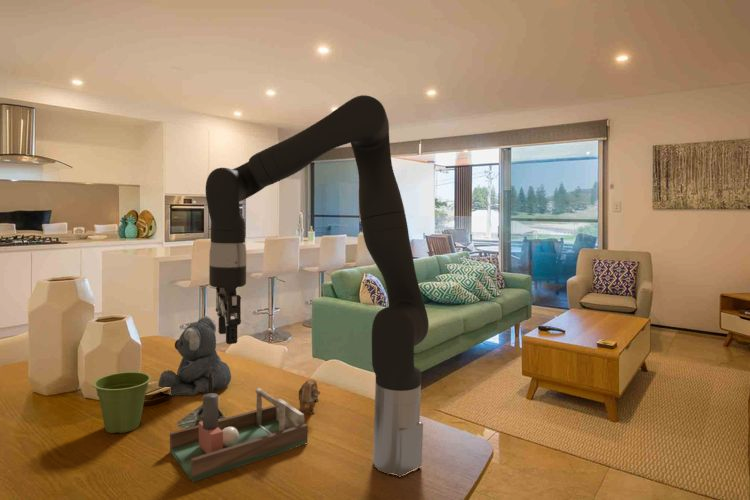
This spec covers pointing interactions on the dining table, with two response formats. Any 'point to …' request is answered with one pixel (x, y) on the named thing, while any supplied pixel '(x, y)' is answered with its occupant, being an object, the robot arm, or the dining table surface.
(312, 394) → the lion figurine
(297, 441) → the pitch
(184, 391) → the koala plush
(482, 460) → the dining table surface
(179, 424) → the eiffel tower figurine
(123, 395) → the plant pot
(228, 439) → the ball
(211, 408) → the striker
